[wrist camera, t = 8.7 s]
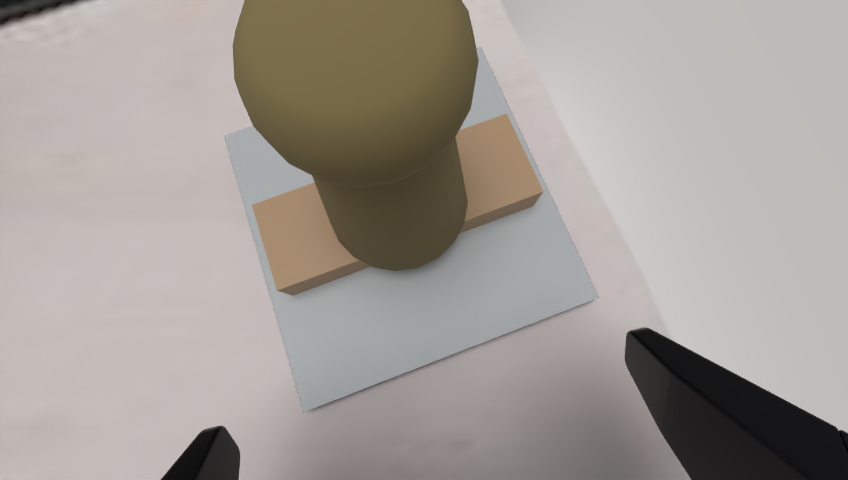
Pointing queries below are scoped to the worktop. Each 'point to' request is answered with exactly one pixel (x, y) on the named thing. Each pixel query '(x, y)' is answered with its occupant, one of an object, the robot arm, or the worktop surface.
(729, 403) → the robot arm
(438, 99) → the olive pepper mill
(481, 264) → the ridge board
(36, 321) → the worktop surface
